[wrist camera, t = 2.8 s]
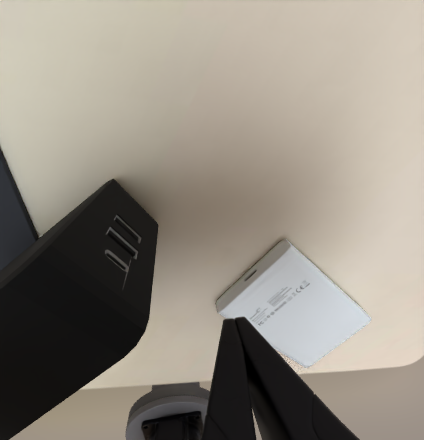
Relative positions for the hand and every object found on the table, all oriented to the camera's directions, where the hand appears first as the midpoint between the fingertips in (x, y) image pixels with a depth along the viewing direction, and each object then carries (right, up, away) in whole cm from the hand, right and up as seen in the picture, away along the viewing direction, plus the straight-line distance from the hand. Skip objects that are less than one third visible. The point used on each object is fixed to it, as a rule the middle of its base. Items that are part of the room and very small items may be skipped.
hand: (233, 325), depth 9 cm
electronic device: (-10, +3, +7) cm, 13 cm away
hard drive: (+7, -4, +13) cm, 15 cm away
